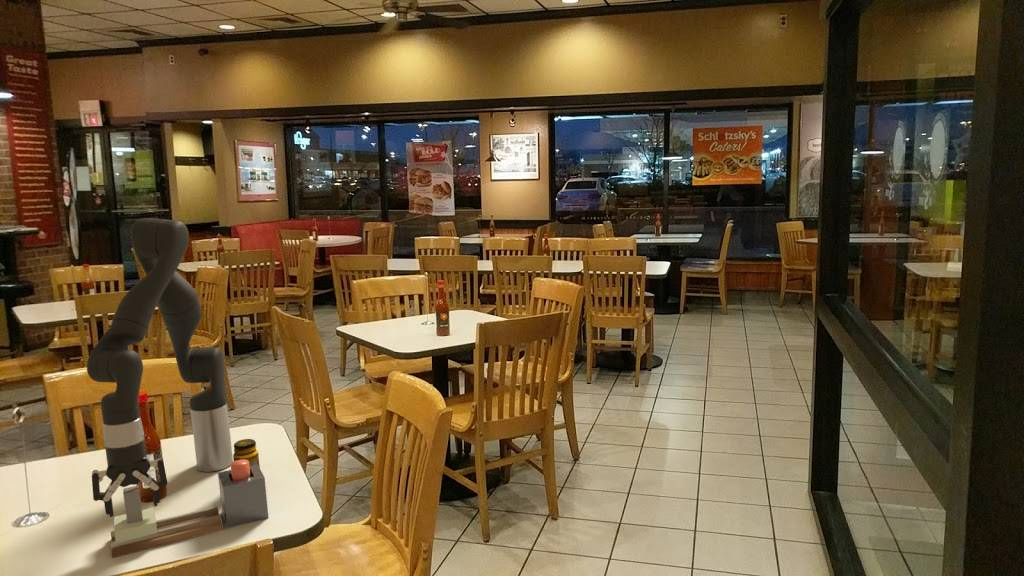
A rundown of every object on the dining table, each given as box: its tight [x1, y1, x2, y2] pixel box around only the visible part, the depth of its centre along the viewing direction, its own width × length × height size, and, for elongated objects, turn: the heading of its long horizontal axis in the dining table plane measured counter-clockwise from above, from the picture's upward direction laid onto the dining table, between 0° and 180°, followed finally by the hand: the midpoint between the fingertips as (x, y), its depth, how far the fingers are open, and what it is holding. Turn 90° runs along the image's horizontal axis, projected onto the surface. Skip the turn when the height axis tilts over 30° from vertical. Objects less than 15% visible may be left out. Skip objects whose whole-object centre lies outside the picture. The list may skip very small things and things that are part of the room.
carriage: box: [113, 484, 158, 543], centre depth 156 cm, size 8×8×10 cm
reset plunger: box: [230, 460, 250, 481], centre depth 166 cm, size 4×4×6 cm
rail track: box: [110, 505, 224, 559], centre depth 160 cm, size 9×22×2 cm, turn 119°
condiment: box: [232, 438, 266, 487], centre depth 182 cm, size 7×8×12 cm
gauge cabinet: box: [217, 464, 269, 529], centre depth 167 cm, size 9×9×10 cm
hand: (133, 510), depth 156 cm, fingers open, 8 cm apart
